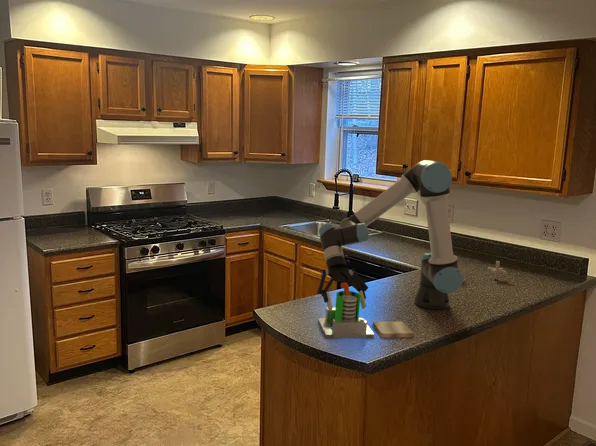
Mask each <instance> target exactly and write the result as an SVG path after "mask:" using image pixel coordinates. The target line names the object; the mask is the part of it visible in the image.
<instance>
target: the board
mask: <svg viewBox="0 0 596 446" xmlns="http://www.w3.org/2000/svg"><path fill="white" fill-rule="evenodd" d="M372 326H373V328H374V329H375V330H376V332H377V333H378V334H379V337H380V338H414V332H413V331H412V330H411V329H410V328H409V327H408V326H407V325H406V324H405V323H404V321H401V320H400V321H372Z"/></svg>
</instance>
